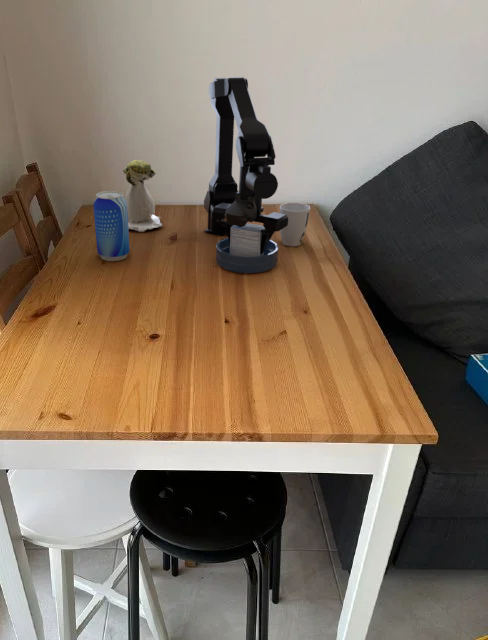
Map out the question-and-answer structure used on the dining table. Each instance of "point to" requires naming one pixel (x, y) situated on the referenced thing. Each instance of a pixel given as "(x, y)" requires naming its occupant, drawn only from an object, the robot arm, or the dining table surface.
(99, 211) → the beer can
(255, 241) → the medicine box
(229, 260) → the bowl
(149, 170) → the white figurine
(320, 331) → the dining table surface
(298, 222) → the cup
